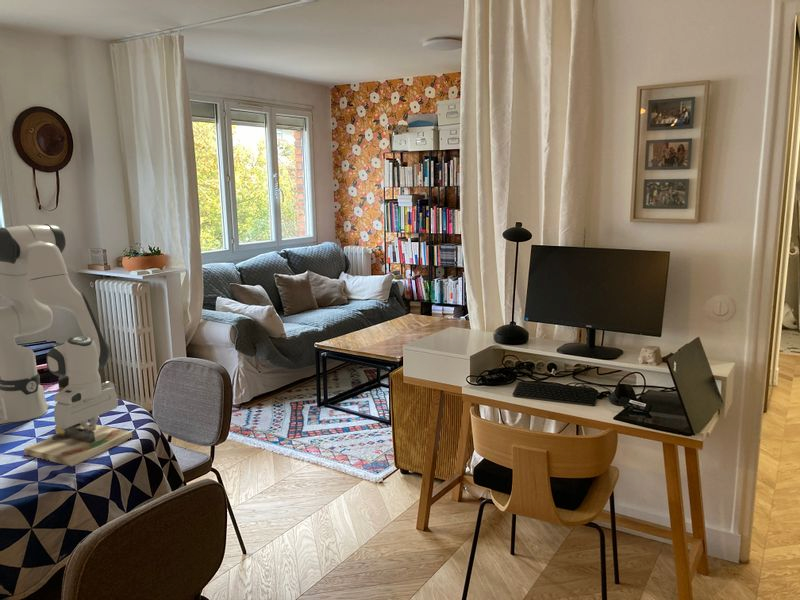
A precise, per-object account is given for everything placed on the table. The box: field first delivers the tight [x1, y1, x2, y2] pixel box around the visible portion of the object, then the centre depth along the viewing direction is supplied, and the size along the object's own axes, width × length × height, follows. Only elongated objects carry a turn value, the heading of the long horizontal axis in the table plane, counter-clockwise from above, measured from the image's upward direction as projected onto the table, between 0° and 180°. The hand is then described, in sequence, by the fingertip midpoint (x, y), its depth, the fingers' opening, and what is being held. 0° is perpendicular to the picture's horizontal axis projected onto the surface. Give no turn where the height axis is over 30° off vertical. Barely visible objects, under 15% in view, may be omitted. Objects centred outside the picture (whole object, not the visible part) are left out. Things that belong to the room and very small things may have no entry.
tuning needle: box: [54, 425, 95, 443], centre depth 193 cm, size 15×4×3 cm, turn 65°
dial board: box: [23, 422, 133, 467], centre depth 193 cm, size 20×22×2 cm
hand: (90, 431), depth 195 cm, fingers closed
